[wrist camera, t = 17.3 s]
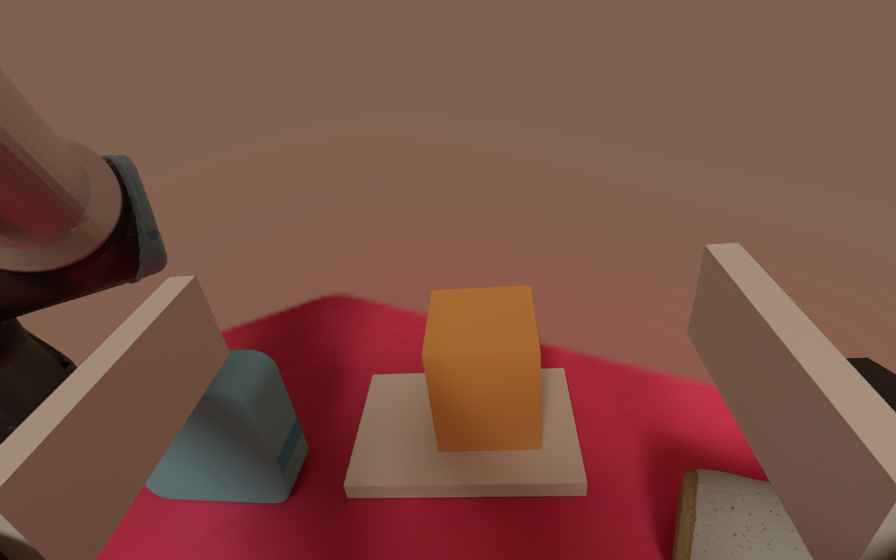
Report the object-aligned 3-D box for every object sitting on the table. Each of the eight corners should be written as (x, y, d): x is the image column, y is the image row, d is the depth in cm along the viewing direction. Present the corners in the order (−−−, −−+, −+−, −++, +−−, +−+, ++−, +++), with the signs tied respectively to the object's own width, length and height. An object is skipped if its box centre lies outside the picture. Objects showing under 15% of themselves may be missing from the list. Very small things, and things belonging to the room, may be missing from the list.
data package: (313, 456, 42) (272, 347, 35) (293, 505, 38) (243, 394, 31) (184, 453, 43) (123, 348, 37) (153, 499, 40) (78, 392, 33)
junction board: (347, 498, 38) (322, 427, 34) (375, 386, 48) (359, 320, 44) (586, 495, 36) (592, 420, 32) (563, 379, 46) (565, 310, 42)
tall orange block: (438, 451, 39) (421, 355, 34) (444, 380, 46) (431, 290, 40) (540, 449, 38) (540, 350, 33) (531, 376, 45) (530, 285, 39)
